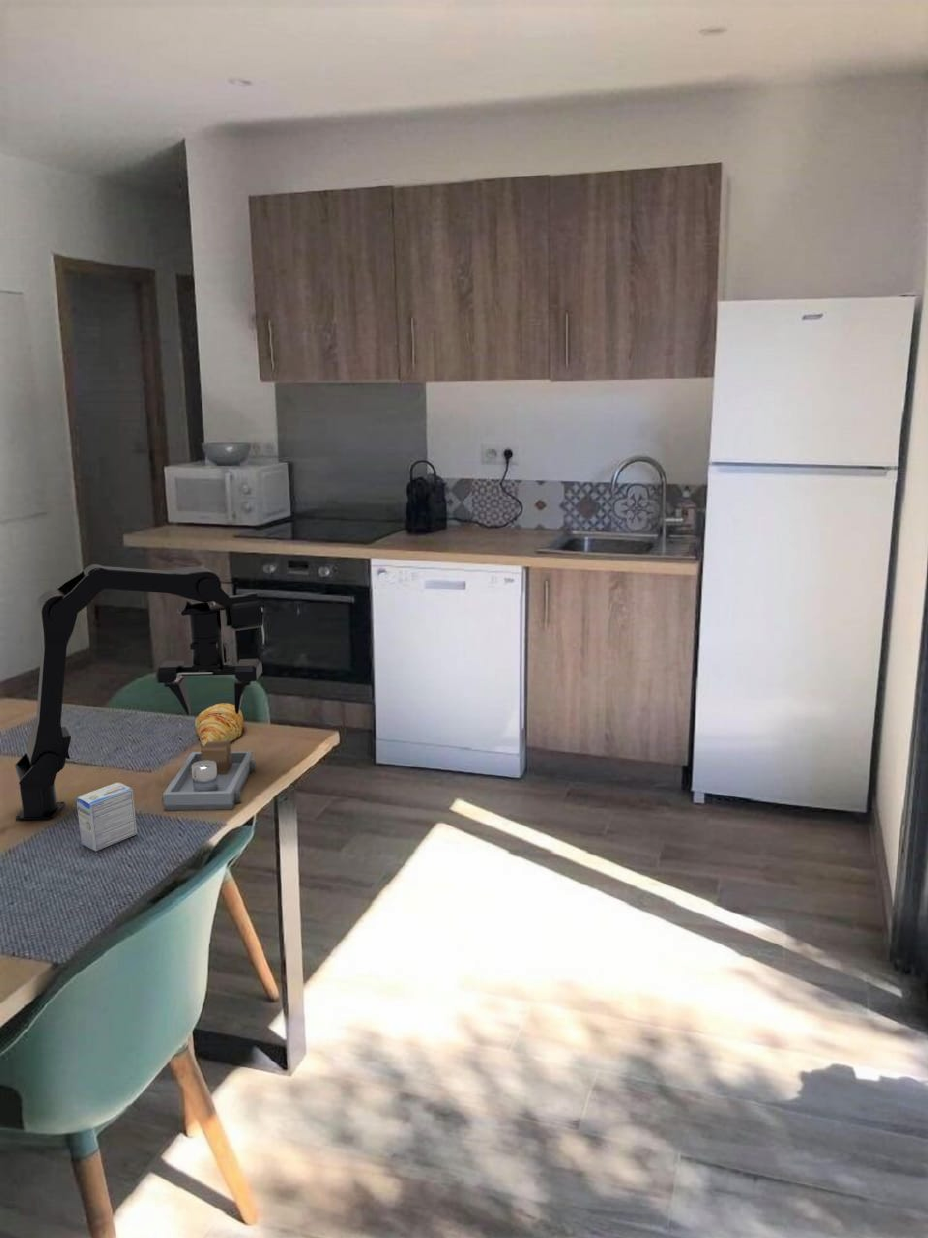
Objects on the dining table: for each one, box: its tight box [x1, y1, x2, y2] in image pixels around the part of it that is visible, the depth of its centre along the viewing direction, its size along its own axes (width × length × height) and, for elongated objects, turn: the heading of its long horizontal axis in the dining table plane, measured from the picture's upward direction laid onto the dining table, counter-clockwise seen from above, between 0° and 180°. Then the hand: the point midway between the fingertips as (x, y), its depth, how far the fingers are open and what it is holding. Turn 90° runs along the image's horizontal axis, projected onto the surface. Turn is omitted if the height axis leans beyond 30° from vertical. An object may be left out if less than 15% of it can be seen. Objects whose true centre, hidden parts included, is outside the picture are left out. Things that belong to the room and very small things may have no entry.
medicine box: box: [76, 782, 138, 852], centre depth 165 cm, size 8×4×9 cm, turn 141°
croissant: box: [194, 702, 244, 748], centre depth 213 cm, size 21×10×8 cm, turn 179°
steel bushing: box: [191, 760, 218, 792], centre depth 182 cm, size 4×4×5 cm
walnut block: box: [200, 741, 232, 775], centre depth 191 cm, size 4×4×5 cm
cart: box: [161, 750, 257, 811], centre depth 186 cm, size 20×14×3 cm
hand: (213, 713), depth 189 cm, fingers open, 9 cm apart
